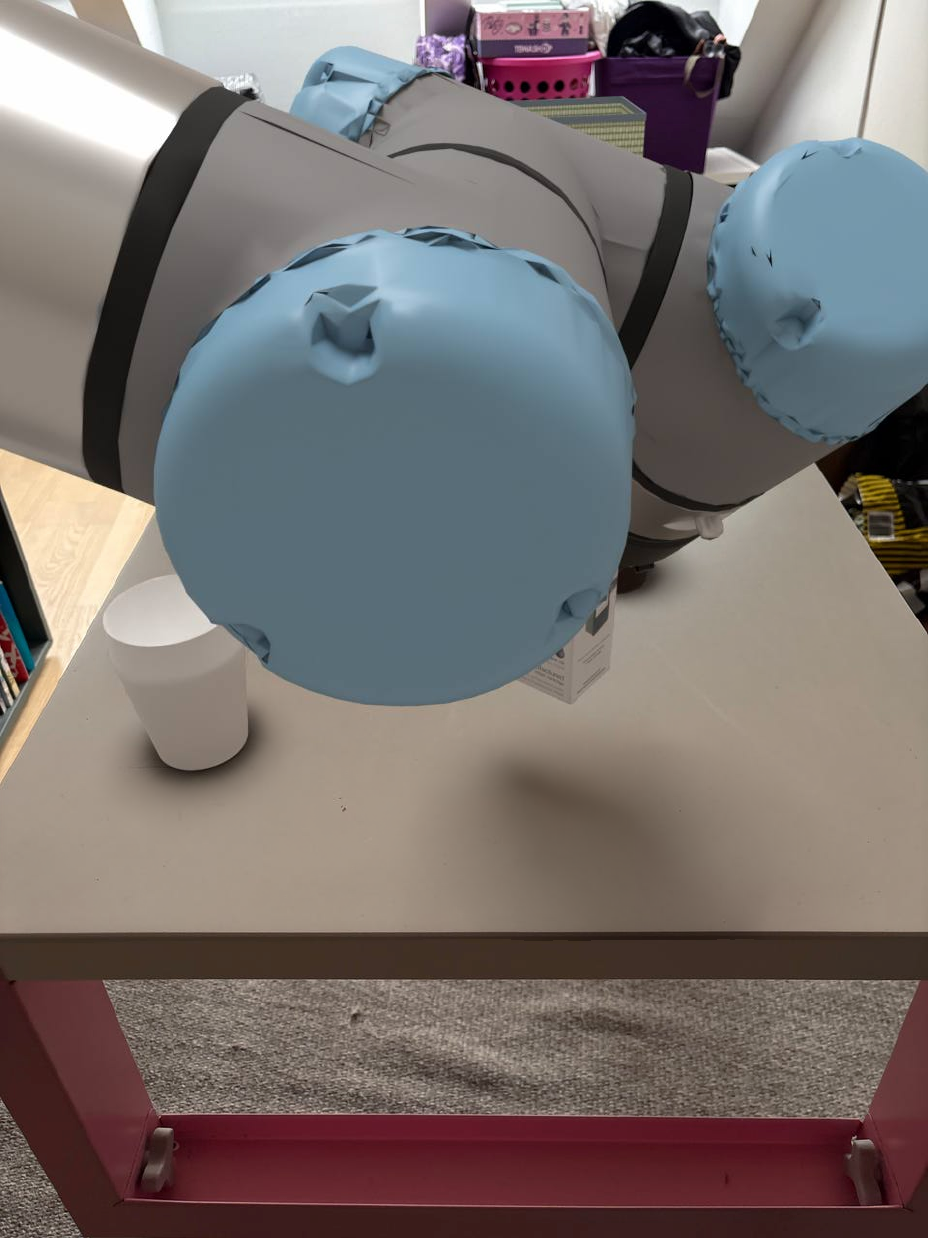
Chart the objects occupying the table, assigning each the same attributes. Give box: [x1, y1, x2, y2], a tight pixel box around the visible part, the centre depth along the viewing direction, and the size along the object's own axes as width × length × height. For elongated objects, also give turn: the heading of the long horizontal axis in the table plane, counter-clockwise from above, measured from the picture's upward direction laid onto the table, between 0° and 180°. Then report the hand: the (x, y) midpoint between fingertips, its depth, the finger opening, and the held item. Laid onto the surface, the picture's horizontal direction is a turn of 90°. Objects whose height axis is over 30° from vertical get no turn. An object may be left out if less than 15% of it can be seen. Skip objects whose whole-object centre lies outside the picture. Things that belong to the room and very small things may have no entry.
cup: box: [102, 573, 249, 771], centre depth 68 cm, size 9×9×12 cm
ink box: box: [516, 570, 618, 705], centre depth 58 cm, size 9×5×12 cm, turn 51°
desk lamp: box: [506, 95, 647, 157], centre depth 115 cm, size 18×14×33 cm
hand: (517, 584), depth 61 cm, fingers closed on ink box, 8 cm apart
